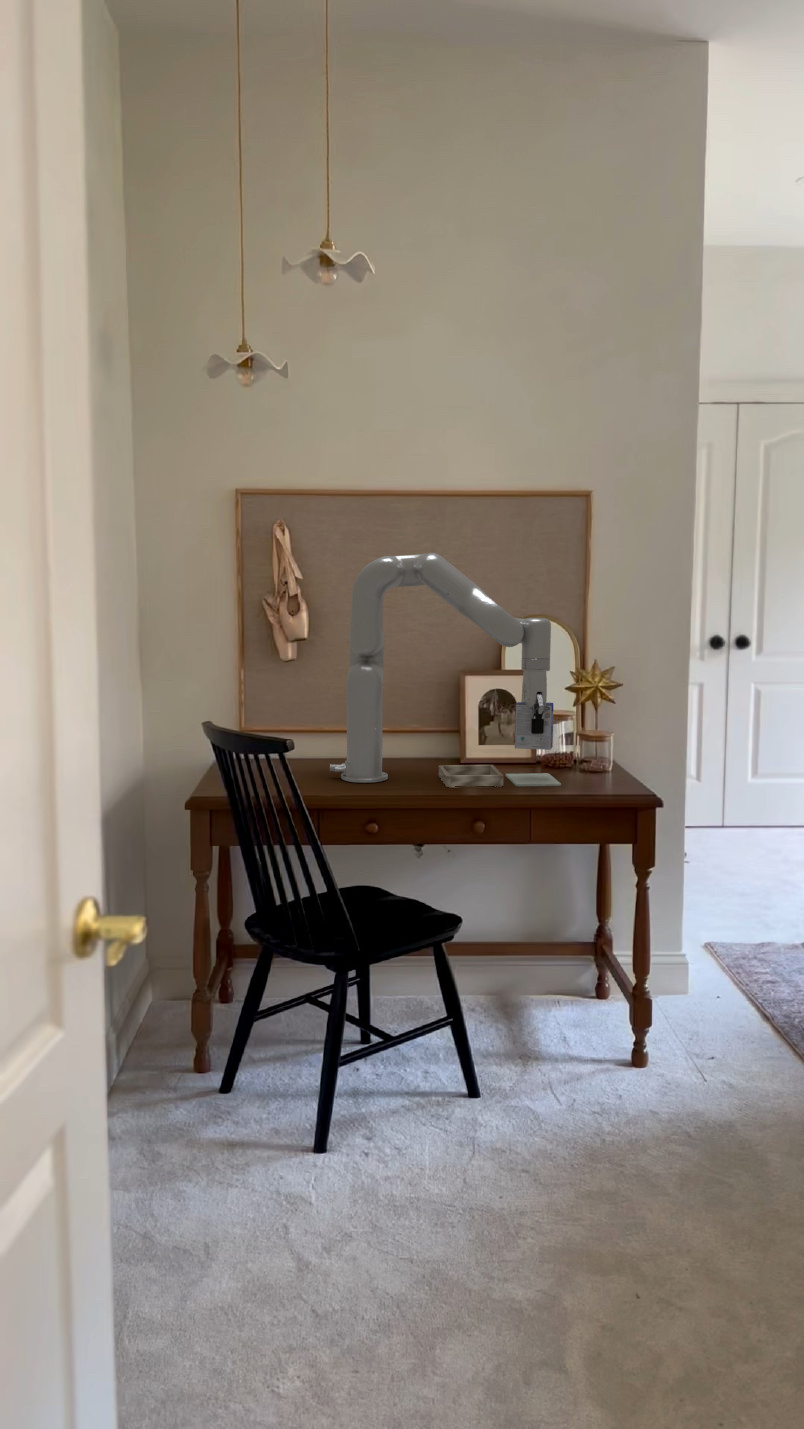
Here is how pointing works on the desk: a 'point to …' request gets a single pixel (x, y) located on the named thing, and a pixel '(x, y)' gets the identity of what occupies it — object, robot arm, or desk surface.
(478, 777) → the holder
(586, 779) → the desk surface
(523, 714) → the ink cartridge box
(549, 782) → the mat
